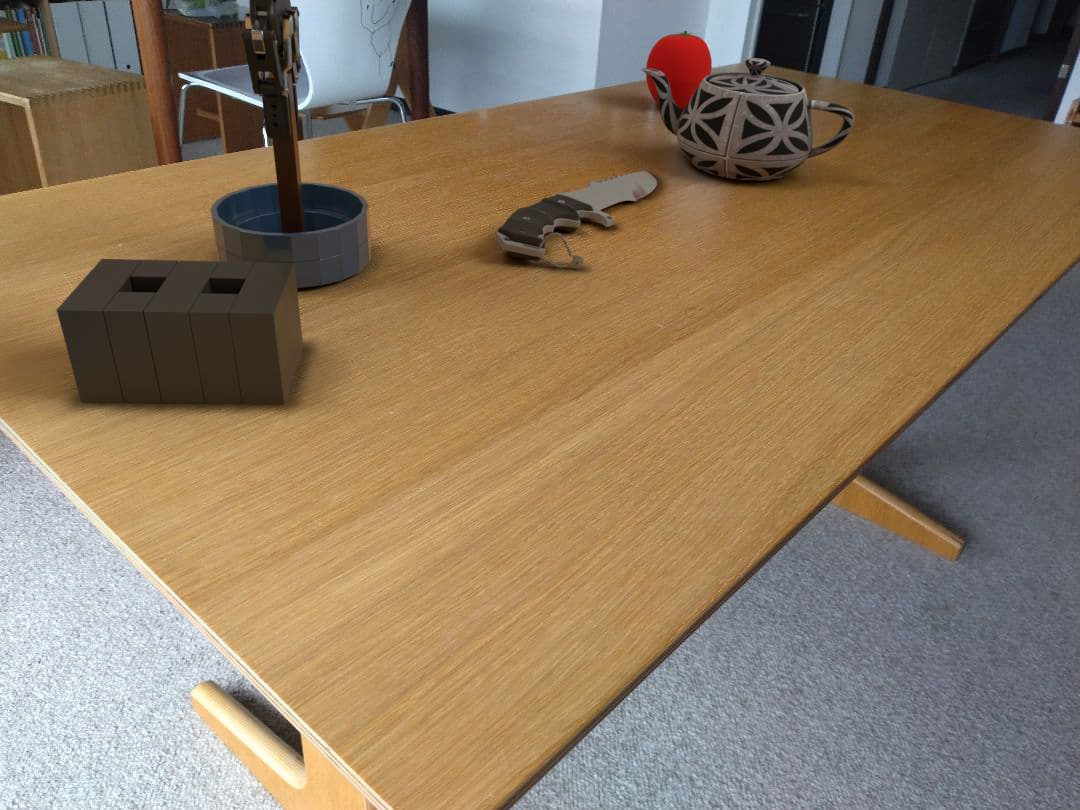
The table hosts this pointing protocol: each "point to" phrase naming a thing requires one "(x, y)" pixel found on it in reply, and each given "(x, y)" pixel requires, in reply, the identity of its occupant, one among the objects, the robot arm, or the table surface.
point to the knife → (568, 215)
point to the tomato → (680, 65)
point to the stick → (289, 173)
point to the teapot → (747, 123)
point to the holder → (184, 332)
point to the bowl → (318, 254)
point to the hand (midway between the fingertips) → (283, 130)
